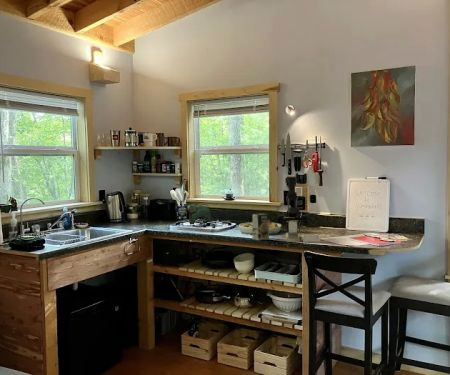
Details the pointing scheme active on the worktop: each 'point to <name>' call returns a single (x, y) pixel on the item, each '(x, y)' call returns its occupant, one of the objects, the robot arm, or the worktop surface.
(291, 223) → the lever cap
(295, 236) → the plane body
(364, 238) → the worktop surface
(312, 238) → the tray
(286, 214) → the robot arm
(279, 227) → the bowl
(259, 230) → the coffee box
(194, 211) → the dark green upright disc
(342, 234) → the worktop surface
